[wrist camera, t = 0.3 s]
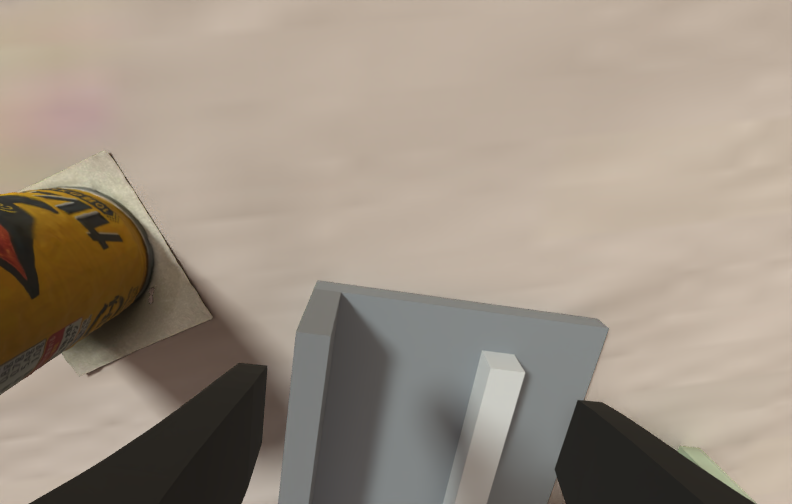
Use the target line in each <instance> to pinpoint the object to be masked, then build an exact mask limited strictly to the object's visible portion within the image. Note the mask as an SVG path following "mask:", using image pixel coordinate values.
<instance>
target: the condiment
mask: <svg viewBox="0 0 792 504" xmlns="http://www.w3.org/2000/svg"><path fill="white" fill-rule="evenodd" d="M152 287H154V289H155V290H154V292H153V295H152V296H153V303H151V304H150V303H148V298H149V296H150V293H149V289H150V288H152ZM212 318H213V317H212V315H211V314H210V312H209V311H208V309H207V308H206V307H205V305H204V304H203V302H202V300H201V299H200V297H199V295H198V293H197V292H196V290H195V289H194V288H193V286H192V285H191V284H190V282H189V280H188V278H187V277H186V275H185V273H184V272H183V270H182V268H181V267H180V266H179V264H178V263H177V261H176V259H175V257H174V255H173V254H172V253H171V251H170V249H169V247H168V246H167V244H166V242H165V240H164V239H163V237H162V235H161V233H160V232H159V230H158V229H157V227H156V225H155V224H154V222H153V221H152V219H151V218H150V216H149V215H148V213H147V212H146V210H145V208H144V206H143V205H142V204H141V202H140V201H139V199H138V197H137V195H136V194H135V192H134V190H133V189H132V187H131V186H130V185H129V184H128V182H127V181H126V179H125V177H124V175H123V173H122V172H121V170H120V169H119V167H118V166H117V165H116V163H115V161H114V160H113V158H112V157H111V156H110V155H109V154H108V153H107V151H106V150H103V151H101V152H99V153H98V154H95V155H93V156H91V157H89V158H87V159H85V160H83V161H80V162H79V163H77V164H75V165H72V166H70V167H69V168H67V169H65V170H62V171H60V172H58V173H56V174H54V175H52V176H50V177H48V178H46V179H44V180H42V181H40V182H38V183H35V184H33V185H31V186H29V187H27V188H25V189H23V190H20V191H18V192H14V193H7V194H0V395H1V394H2V393H4V392H5V391H7V390H8V389H10V388H11V387H12V386H14V385H16V384H17V383H18V382H20V381H21V380H23V379H24V378H26V377H28V376H29V375H31V374H32V373H33V372H34V371H36V370H37V369H39V368H40V367H42V366H43V365H44V364H46V363H47V362H49V361H50V360H52V359H53V358H55V357H56V356H58V355H59V354H61V353H62V355H63V356H64V358H65V360H66V361H67V362H68V363H69V364H70V365H71V366H72V368H73V369H74V370H75V372H76V373H77V374H78V375H79V376H82V375H84V374H86V373H88V372H91V371H93V370H95V369H97V368H99V367H101V366H103V365H106V364H108V363H110V362H112V361H115V360H117V359H119V358H121V357H124V356H126V355H128V354H130V353H133V352H135V351H137V350H140V349H142V348H144V347H147V346H149V345H151V344H154V343H156V342H157V341H158V340H163V339H165V338H168V337H170V336H172V335H175V334H177V333H180V332H182V331H184V330H186V329H188V328H191V327H194V326H196V325H198V324H201V323H203V322H205V321H208V320H210V319H212Z"/></svg>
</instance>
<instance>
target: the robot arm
mask: <svg viewBox="0 0 792 504" xmlns="http://www.w3.org/2000/svg"><path fill="white" fill-rule="evenodd" d="M266 379H267V366H263V365H253V364H244V363H239V364H237V365H236V366H234V367H233V368H232V369H230V370H229V371H228V372H226V373H225V374H224V375H222V376H221V377H220V378H218V379H217V380H216V381H214V382H213V383H212V384H211V385H209V386H208V387H207V388H205V389H204V390H203V391H201V392H200V393H199V394H197V395H196V396H195V397H194V398H192V399H191V400H190V401H188V402H187V403H185V404H184V405H183V406H181V407H180V408H179V409H177V410H176V411H174V412H173V413H172V414H170V415H169V416H168V417H166V418H165V419H163V420H162V421H161V422H159V423H158V424H157V425H155V426H154V427H152V428H151V429H149V430H148V431H146V432H145V433H143V434H142V435H140V436H139V437H137V438H136V439H134V440H133V441H131V442H130V443H128V444H127V445H125V446H124V447H122V448H121V449H119V450H118V451H116V452H115V453H113V454H112V455H110V456H109V457H107V458H106V459H104V460H103V461H101V462H99V463H98V464H96V465H95V466H93V467H91V468H90V469H88V470H86V471H85V472H83V473H81V474H80V475H78V476H76V477H75V478H73V479H71V480H69V481H68V482H66V483H64V484H62V485H61V486H59V487H57V488H56V489H54V490H52V491H50V492H49V493H47V494H45V495H43V496H42V497H40V498H38V499H36V500H35V501H33V502H31V503H29V504H241V503H242V501H243V498H244V496H245V494H246V491H247V489H248V485H249V482H250V479H251V476H252V473H253V470H254V466H255V463H256V460H257V457H258V453H259V450H260V447H261V443H262V433H263V419H264V406H265V392H266ZM554 470H555V473H556V476H557V479H558V482H559V485H560V488H561V491H562V494H563V496H564V499H565V502H566V504H756V503H754V502H752V501H751V500H749V499H748V498H746V497H745V496H743V495H741V494H740V493H738V492H737V491H735V490H734V489H732V488H731V487H729V486H728V485H726V484H725V483H723V482H722V481H720V480H719V479H717V478H716V477H714V476H713V475H711V474H710V473H708V472H707V471H705V470H704V469H702V468H701V467H699V466H698V465H696V464H695V463H693V462H692V461H691V460H689V459H688V458H686V457H685V456H683V455H682V454H680V453H679V452H677V451H676V450H674V449H673V448H672V447H670V446H669V445H667V444H666V443H664V442H663V441H661V440H660V439H658V438H657V437H655V436H654V435H653V434H651V433H650V432H648V431H647V430H645V429H644V428H642V427H641V426H639V425H638V424H636V423H635V422H633V421H632V420H630V419H629V418H627V417H626V416H624V415H622V414H621V413H619V412H618V411H616V410H614V409H613V408H611V407H609V406H608V405H606V404H604V403H602V402H593V401H584V400H577V403H576V406H575V409H574V412H573V415H572V418H571V421H570V424H569V427H568V430H567V433H566V436H565V439H564V442H563V445H562V448H561V451H560V454H559V457H558V460H557V463H556V466H555V469H554Z"/></svg>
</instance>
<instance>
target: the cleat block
mask: <svg viewBox="0 0 792 504" xmlns="http://www.w3.org/2000/svg"><path fill="white" fill-rule="evenodd" d="M678 452H679V453H680V454H682V455H683V456H685V457H686V458H688V459H689V460H691V461H692V462H693V463H695V464H696V465H698V466H699V467H701V468H702V469H704V470H705V471H707V472H708V473H710V474H711V475H713V476H714V477H716V478H717V479H719V480H720V481H722V482H723V483H725V484H726V485H728V486H729V487H731V488H732V489H734V490H735V491H737V492H738V493H740V494H741V495H743V496H745V497H746V498H748V499H749V500H751V501H752V502H754V503H756V502H755V501H754V500H752V499H751V498H750V497H749V496H748V495H747V494H746V493H745V492H744V491H743V490H742V489H741V488H740V487H739V486H738V485H737V484H736V483H735V482H734V481H733V480H732V479H731V478H730V477H729V476H728V475H727V474H726V473H725V472H724V471H723V470H722V469H721V468H720V467H719V466H718V465H716V464H715V463H714V462H713V461H712V460H711V459H710V458H709V457H708V456H707V455H706V454H705V453H704V452H703V451H702V450H701V449H700V448H695V447H686V446H680V447H679V449H678ZM756 504H757V503H756Z"/></svg>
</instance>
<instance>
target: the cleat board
mask: <svg viewBox="0 0 792 504" xmlns="http://www.w3.org/2000/svg"><path fill="white" fill-rule="evenodd" d="M608 330H609V328H608V327H607V326H605V325H604V324H603V323H602V322H601V321H599V320H598V319H594V318H587V317H580V316H572V315H565V314H558V313H551V312H543V311H536V310H529V309H521V308H514V307H507V306H500V305H492V304H485V303H478V302H470V301H463V300H456V299H448V298H441V297H434V296H427V295H419V294H412V293H405V292H397V291H390V290H383V289H376V288H368V287H361V286H354V285H346V284H339V283H332V282H325V281H317V283H316V285H315V288H314V290H313V292H312V295H311V297H310V300H309V302H308V304H307V307H306V309H305V312H304V314H303V316H302V319H301V321H300V324H299V326H298V328H297V331H296V337H295V347H294V357H293V366H292V376H291V385H290V395H289V405H288V414H287V424H286V433H285V443H284V453H283V462H282V472H281V482H280V491H279V501H278V504H547V503H548V500H549V497H550V495H551V492H552V489H553V486H554V483H555V480H556V477H557V476H556V473H555V470H554V469H555V466H556V463H557V460H558V457H559V454H560V451H561V448H562V445H563V442H564V439H565V436H566V433H567V430H568V427H569V424H570V421H571V418H572V415H573V412H574V409H575V406H576V403H577V400H584V398H585V395H586V392H587V389H588V386H589V384H590V381H591V378H592V375H593V372H594V369H595V367H596V364H597V361H598V358H599V355H600V352H601V349H602V347H603V344H604V341H605V338H606V335H607V332H608Z"/></svg>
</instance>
